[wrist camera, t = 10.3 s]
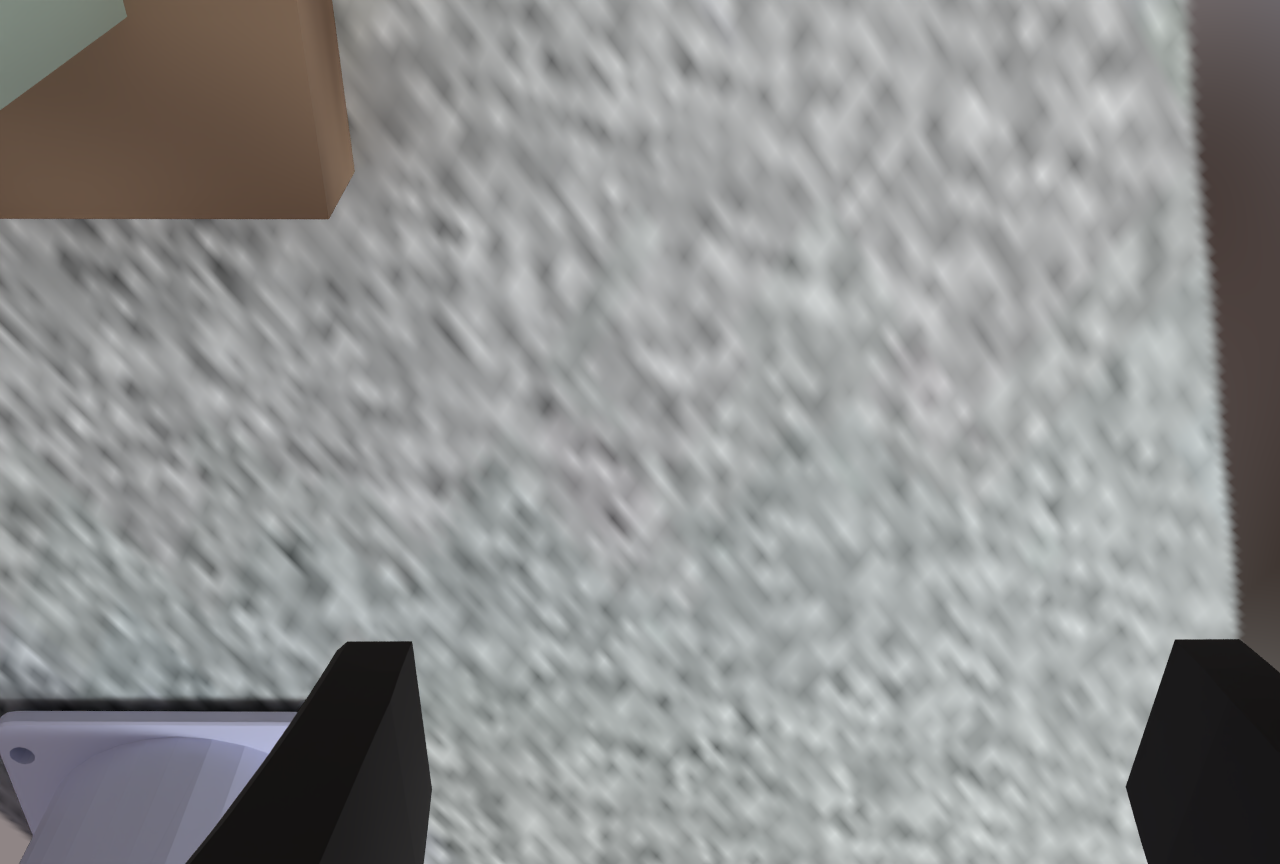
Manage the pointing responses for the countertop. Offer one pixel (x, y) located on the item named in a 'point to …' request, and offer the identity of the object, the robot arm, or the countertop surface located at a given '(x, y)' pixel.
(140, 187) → the walnut board
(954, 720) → the countertop surface
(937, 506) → the countertop surface
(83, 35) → the sage block
